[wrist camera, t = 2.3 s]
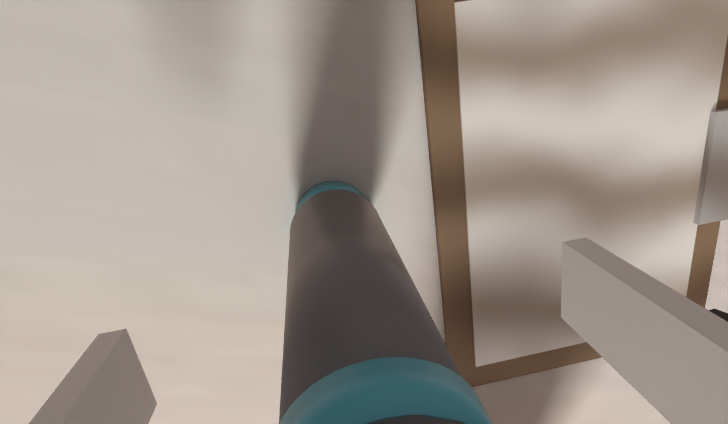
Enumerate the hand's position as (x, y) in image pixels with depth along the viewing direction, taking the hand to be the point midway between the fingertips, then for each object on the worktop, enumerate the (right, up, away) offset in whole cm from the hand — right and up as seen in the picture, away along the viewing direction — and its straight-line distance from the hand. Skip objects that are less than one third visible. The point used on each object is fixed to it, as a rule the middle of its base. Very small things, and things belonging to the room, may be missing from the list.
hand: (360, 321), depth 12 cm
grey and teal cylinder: (-1, +3, +8) cm, 8 cm away
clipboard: (+11, +5, +9) cm, 15 cm away
